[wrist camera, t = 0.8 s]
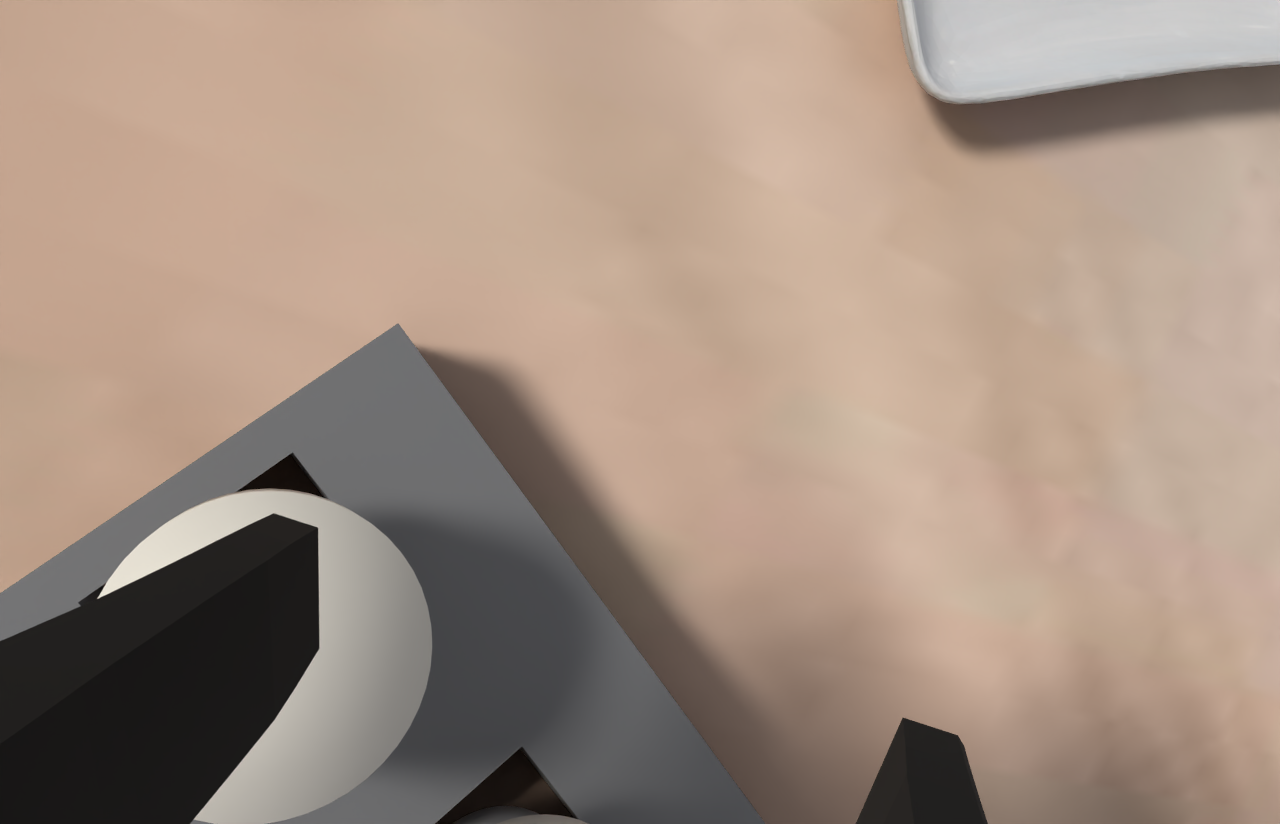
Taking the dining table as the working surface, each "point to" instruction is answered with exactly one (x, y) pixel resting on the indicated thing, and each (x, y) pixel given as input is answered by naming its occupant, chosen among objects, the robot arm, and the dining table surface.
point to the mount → (447, 607)
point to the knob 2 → (514, 817)
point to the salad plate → (1077, 43)
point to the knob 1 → (317, 655)
